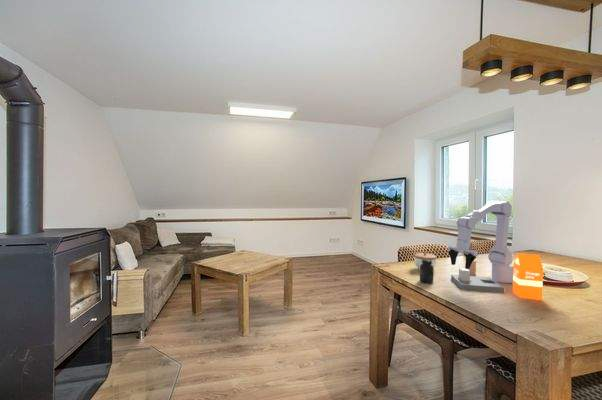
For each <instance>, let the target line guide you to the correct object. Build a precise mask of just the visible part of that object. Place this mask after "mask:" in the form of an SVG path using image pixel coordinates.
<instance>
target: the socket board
mask: <svg viewBox="0 0 602 400" xmlns="http://www.w3.org/2000/svg"><path fill="white" fill-rule="evenodd" d="M450 277H451V278H450V280H451V281H452V282H454V283H455V285H457V287H458V288H459V289H460V290H465V291H466V290H467V291H478V292H479V291H480V292H490V293H505V287H504V286H503V285H501V284H500V283H499V282H496V281H494V280H493V279H491V278H490V277H491V276H478V275H470V270H468V269H465V268H463V267H462V268H461V267H459V269H458V274H451V275H450Z"/></svg>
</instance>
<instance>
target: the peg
mask: <svg viewBox="0 0 602 400" xmlns="http://www.w3.org/2000/svg"><path fill="white" fill-rule="evenodd" d="M468 270H470V276H477V274H476V270H477V261H476V260H475V259H474V261H473V262H472V264H471V266H470V268H469V269H468Z"/></svg>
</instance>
